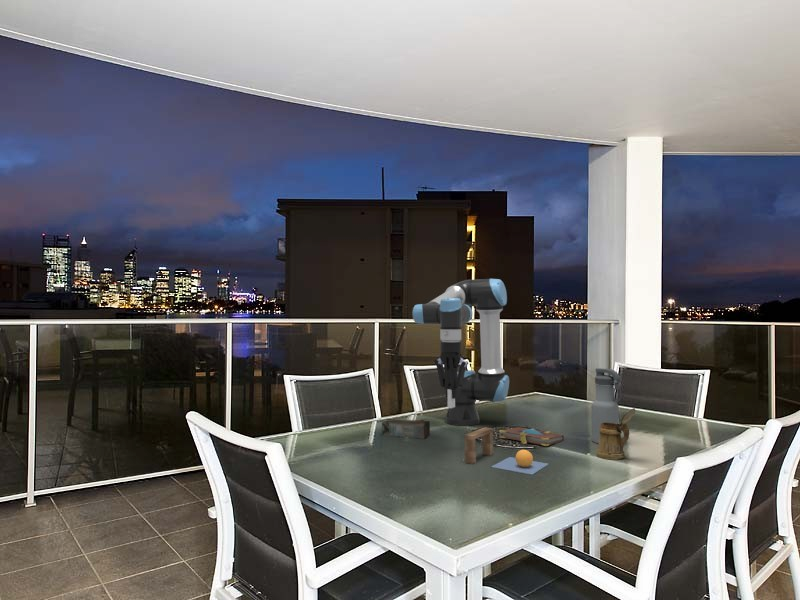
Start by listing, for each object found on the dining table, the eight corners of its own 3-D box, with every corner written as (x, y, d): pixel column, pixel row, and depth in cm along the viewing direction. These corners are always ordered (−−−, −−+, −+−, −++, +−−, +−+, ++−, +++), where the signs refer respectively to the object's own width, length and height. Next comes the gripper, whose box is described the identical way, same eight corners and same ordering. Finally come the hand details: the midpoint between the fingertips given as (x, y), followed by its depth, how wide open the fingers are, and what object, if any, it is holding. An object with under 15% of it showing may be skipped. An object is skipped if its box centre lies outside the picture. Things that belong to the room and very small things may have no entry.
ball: (530, 468, 175) (516, 458, 178) (538, 454, 174) (523, 444, 177) (524, 472, 170) (510, 462, 173) (532, 458, 169) (517, 448, 172)
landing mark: (509, 457, 185) (509, 456, 185) (548, 464, 176) (548, 463, 176) (491, 467, 173) (491, 466, 173) (532, 474, 165) (532, 474, 165)
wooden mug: (629, 464, 176) (628, 409, 176) (591, 456, 186) (590, 404, 187) (642, 459, 181) (641, 406, 182) (604, 451, 192) (604, 401, 192)
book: (510, 434, 226) (510, 422, 226) (565, 443, 209) (565, 430, 209) (488, 438, 214) (488, 426, 214) (544, 449, 197) (544, 435, 197)
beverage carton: (388, 432, 226) (387, 416, 226) (430, 435, 219) (430, 419, 219) (381, 436, 218) (381, 420, 218) (425, 439, 212) (425, 423, 212)
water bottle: (624, 442, 205) (623, 369, 206) (614, 447, 198) (613, 371, 199) (598, 437, 212) (597, 367, 213) (587, 442, 205) (586, 369, 206)
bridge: (464, 462, 179) (464, 435, 179) (485, 453, 191) (484, 427, 191) (472, 464, 177) (472, 436, 177) (492, 454, 189) (492, 428, 189)
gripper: (429, 341, 192) (430, 407, 192) (461, 342, 184) (462, 411, 184) (440, 340, 198) (441, 404, 198) (472, 341, 190) (472, 407, 190)
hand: (451, 407), depth 191 cm, fingers closed
